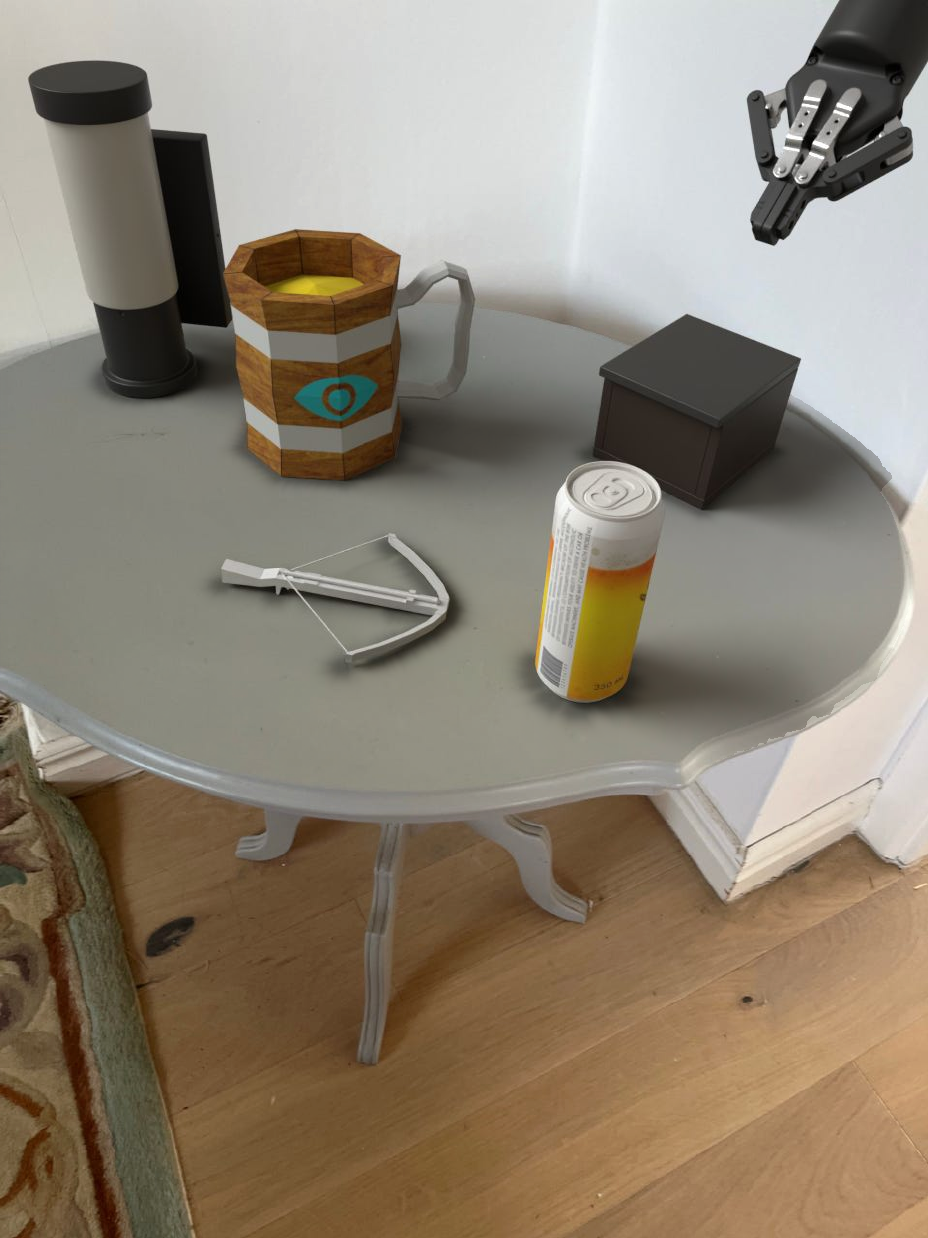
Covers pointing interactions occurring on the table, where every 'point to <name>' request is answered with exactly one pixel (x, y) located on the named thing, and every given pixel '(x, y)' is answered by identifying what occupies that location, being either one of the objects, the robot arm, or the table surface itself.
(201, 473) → the table surface
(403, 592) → the crossbow
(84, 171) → the light fixture
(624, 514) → the beer can
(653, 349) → the lid
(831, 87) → the robot arm
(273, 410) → the mug
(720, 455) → the hinged brown box
